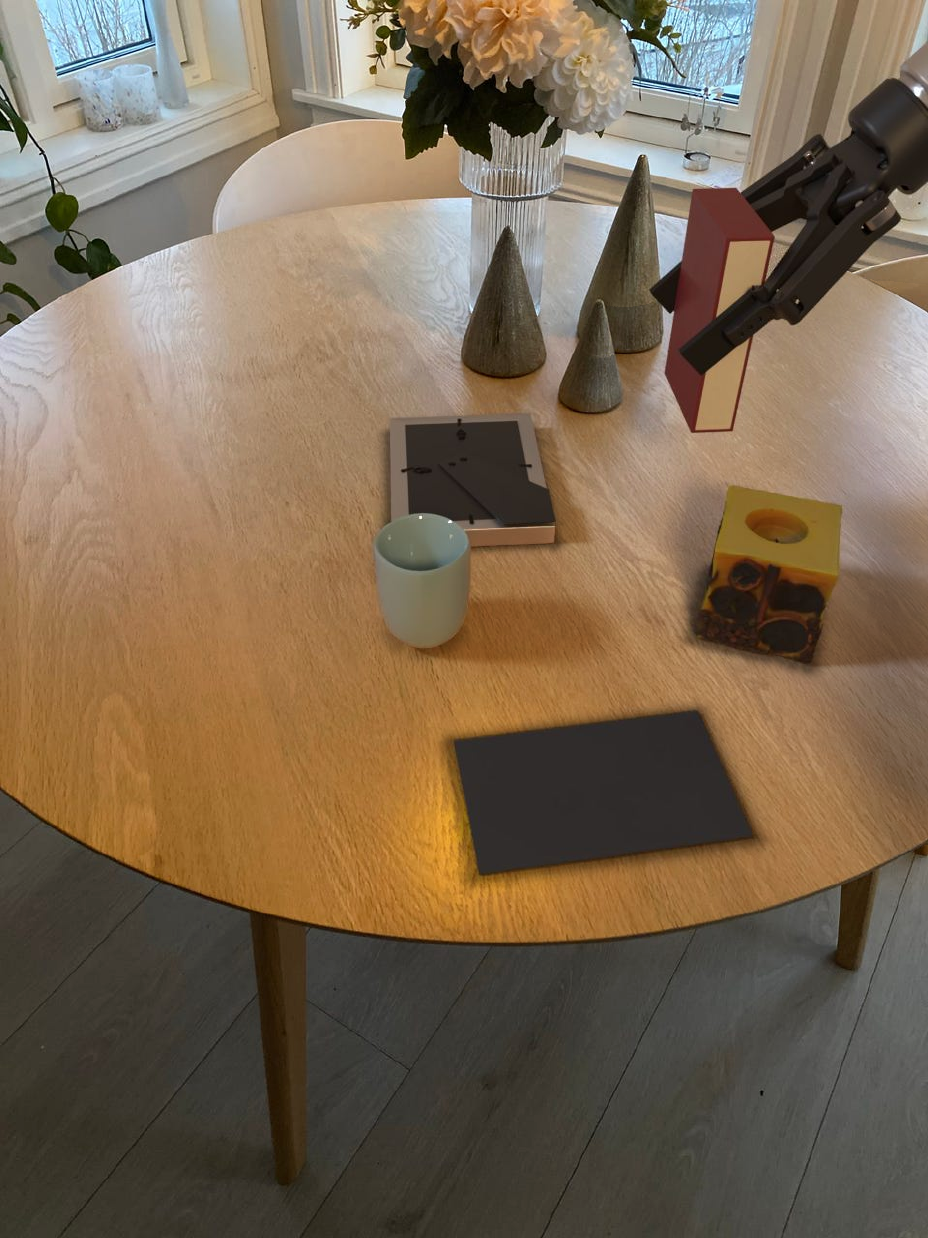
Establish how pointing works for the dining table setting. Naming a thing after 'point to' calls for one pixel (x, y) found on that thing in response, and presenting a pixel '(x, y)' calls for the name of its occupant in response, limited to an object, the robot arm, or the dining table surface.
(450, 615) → the cup
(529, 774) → the mat
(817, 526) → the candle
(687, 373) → the book
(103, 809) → the dining table surface
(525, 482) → the picture frame
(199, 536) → the dining table surface
